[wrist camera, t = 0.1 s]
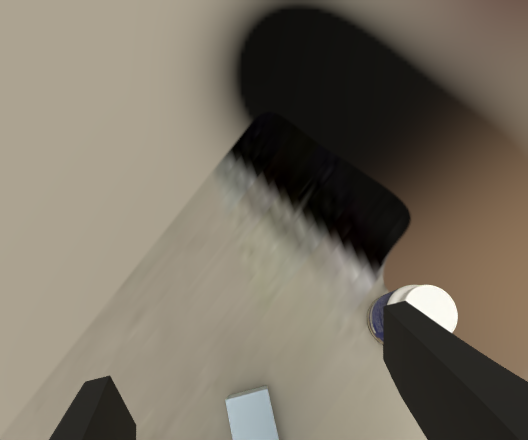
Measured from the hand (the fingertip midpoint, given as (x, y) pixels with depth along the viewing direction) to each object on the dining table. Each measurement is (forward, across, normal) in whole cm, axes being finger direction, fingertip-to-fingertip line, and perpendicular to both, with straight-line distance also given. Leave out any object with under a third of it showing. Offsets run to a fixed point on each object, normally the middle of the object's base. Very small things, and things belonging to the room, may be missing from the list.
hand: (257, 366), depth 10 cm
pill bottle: (+22, -15, +24) cm, 35 cm away
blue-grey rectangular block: (+16, +2, +28) cm, 33 cm away
